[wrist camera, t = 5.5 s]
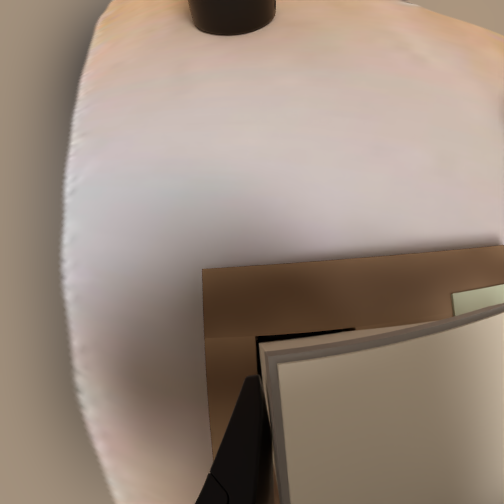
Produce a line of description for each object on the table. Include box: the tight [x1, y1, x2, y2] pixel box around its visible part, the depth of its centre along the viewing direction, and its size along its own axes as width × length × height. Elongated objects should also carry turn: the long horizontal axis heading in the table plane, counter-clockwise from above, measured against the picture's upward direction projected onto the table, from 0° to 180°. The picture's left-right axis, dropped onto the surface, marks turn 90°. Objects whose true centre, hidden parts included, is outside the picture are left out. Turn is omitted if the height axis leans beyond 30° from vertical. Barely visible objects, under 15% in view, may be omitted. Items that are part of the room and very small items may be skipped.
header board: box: [202, 245, 504, 504], centre depth 14 cm, size 16×22×3 cm
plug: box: [258, 303, 504, 504], centre depth 10 cm, size 5×5×14 cm
